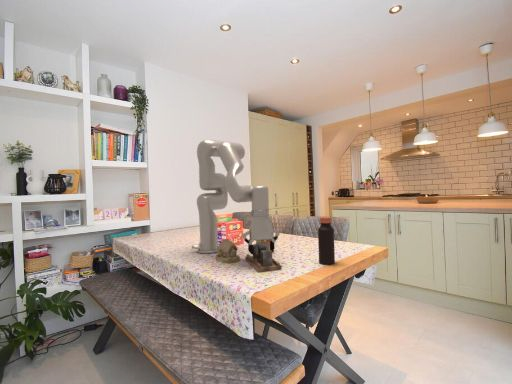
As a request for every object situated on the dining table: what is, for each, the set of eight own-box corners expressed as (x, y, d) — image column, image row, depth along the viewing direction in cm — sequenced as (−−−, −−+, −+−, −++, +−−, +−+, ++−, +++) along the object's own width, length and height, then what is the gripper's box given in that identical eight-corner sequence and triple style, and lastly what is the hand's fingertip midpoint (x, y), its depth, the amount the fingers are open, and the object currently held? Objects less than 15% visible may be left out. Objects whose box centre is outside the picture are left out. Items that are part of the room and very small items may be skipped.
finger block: (259, 263, 117) (258, 244, 117) (255, 259, 123) (254, 242, 122) (269, 262, 118) (268, 243, 118) (264, 258, 124) (264, 241, 124)
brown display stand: (258, 272, 109) (257, 254, 109) (245, 259, 129) (245, 244, 128) (281, 269, 112) (280, 251, 112) (265, 257, 131) (265, 242, 131)
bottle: (327, 266, 115) (326, 219, 114) (315, 262, 120) (314, 217, 120) (338, 262, 119) (336, 217, 118) (325, 259, 124) (324, 216, 124)
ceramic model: (211, 258, 133) (210, 238, 133) (230, 254, 140) (230, 235, 140) (225, 265, 122) (224, 242, 122) (246, 260, 129) (245, 239, 128)
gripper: (243, 215, 114) (244, 256, 114) (281, 213, 119) (283, 252, 119) (239, 214, 121) (240, 252, 122) (275, 211, 126) (276, 248, 126)
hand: (261, 252), depth 120 cm, fingers open, 9 cm apart
